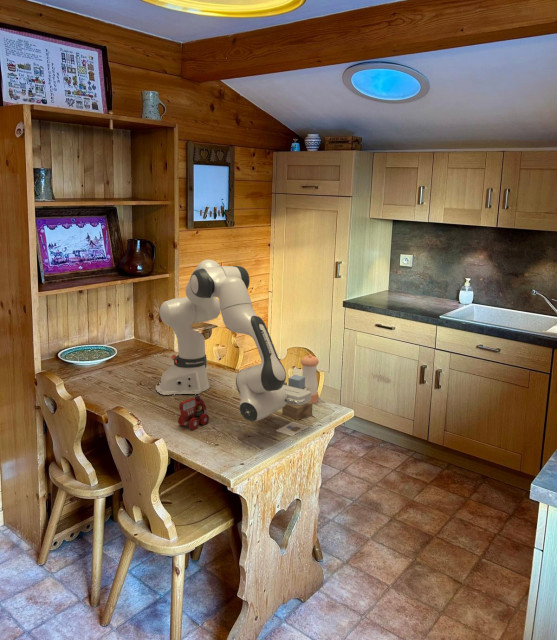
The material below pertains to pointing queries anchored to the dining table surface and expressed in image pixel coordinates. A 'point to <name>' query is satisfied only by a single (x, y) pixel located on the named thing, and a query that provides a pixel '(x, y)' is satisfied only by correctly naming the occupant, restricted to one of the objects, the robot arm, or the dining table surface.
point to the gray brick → (296, 382)
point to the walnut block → (297, 410)
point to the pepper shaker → (310, 375)
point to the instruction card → (292, 428)
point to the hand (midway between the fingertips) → (295, 386)
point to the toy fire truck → (193, 413)
